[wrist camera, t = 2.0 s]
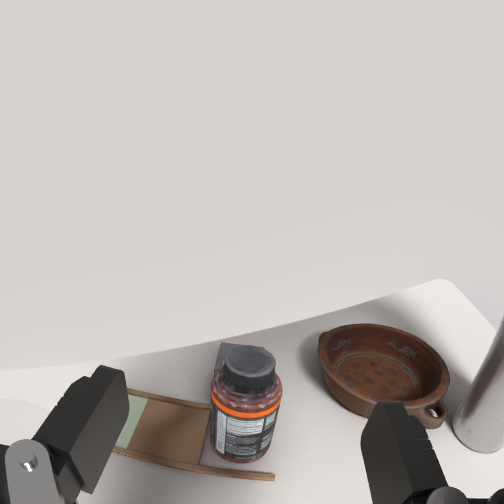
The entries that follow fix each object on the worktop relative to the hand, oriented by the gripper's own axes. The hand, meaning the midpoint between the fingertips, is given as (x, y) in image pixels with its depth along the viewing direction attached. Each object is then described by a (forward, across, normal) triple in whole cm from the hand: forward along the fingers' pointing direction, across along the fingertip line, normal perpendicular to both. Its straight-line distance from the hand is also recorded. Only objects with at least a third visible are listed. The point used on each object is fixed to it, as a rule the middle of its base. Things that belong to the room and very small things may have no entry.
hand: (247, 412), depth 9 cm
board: (+13, +7, +19) cm, 24 cm away
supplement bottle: (+13, 0, +19) cm, 24 cm away
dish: (+24, -17, +19) cm, 35 cm away
